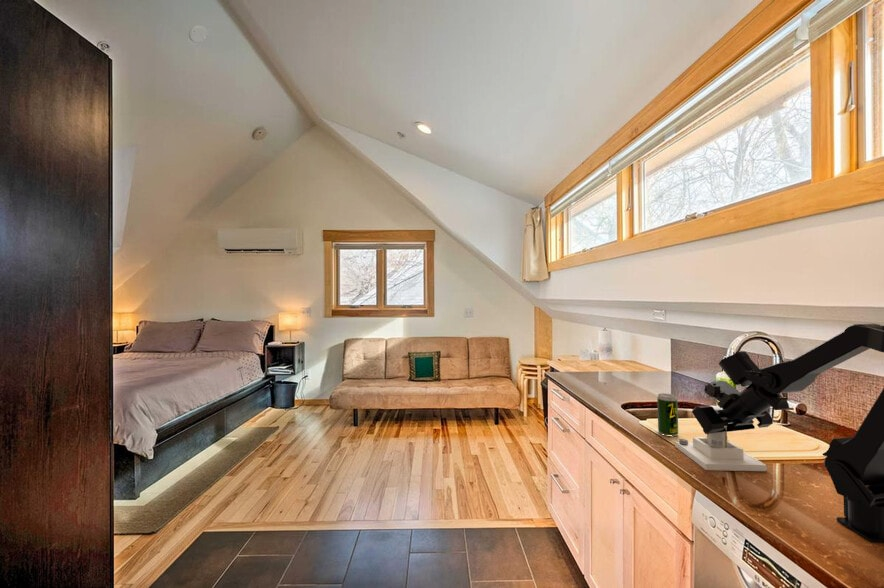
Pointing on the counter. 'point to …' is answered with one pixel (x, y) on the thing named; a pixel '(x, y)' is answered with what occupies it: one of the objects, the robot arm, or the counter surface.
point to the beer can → (667, 414)
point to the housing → (719, 456)
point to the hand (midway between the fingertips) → (712, 431)
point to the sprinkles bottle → (717, 436)
